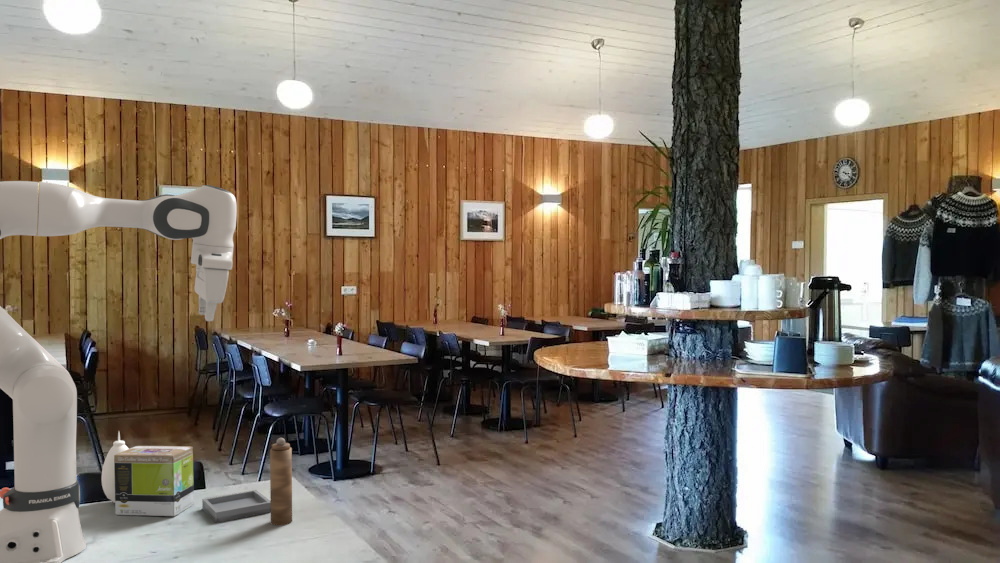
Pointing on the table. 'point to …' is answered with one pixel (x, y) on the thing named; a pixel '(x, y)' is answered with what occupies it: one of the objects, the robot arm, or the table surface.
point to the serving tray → (236, 506)
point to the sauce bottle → (111, 468)
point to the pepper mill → (281, 482)
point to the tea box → (154, 480)
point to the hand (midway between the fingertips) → (205, 317)
